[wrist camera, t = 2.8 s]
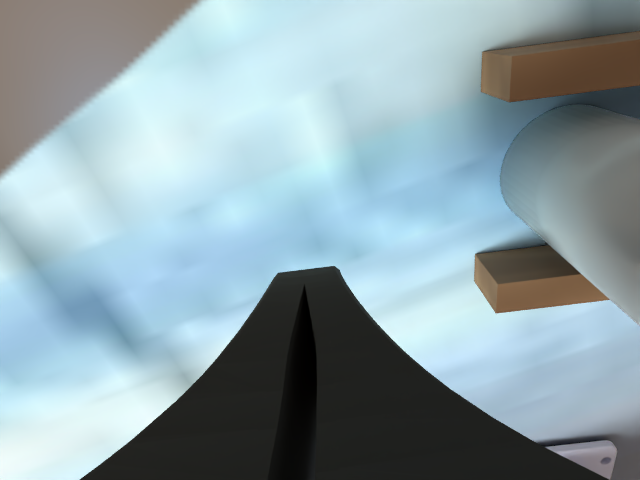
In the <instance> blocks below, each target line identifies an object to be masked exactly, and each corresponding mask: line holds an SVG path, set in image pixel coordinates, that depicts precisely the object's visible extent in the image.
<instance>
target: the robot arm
mask: <svg viewBox="0 0 640 480" xmlns="http://www.w3.org/2000/svg"><path fill="white" fill-rule="evenodd" d="M616 455H617V448H616V447H615V446H614V444H613V443H612V442H611V441H608V440H603V441H594V442H585V443H576V444H567V445H559V446H550V447H543V446H541V445H539V444H538V443H536V442H534V441H532V440H530V439H529V438H527V437H525V436H523V435H522V434H520V433H518V432H517V431H515V430H513V429H511V428H510V427H508V426H506V425H505V424H503V423H501V422H499V421H498V420H496V419H494V418H493V417H491V416H489V415H488V414H486V413H485V412H483V411H482V410H481V409H479V408H478V407H476V406H475V405H473V404H472V403H470V402H469V401H467V400H466V399H464V398H463V397H461V396H460V395H458V394H457V393H455V392H454V391H452V390H451V389H450V388H448V387H447V386H446V385H444V384H443V383H442V382H440V381H439V380H438V379H437V378H435V377H434V376H433V375H431V374H430V373H429V372H428V371H426V370H425V369H424V368H423V367H422V366H421V365H419V364H418V363H417V362H416V361H415V360H413V359H412V358H411V357H410V356H409V355H408V354H407V353H406V352H405V351H403V350H402V349H401V348H400V347H399V346H398V345H397V344H396V343H395V342H394V341H393V340H392V339H391V338H390V337H389V336H388V335H387V334H386V333H385V332H384V331H383V330H382V328H381V327H380V326H379V325H378V324H377V323H376V322H375V321H374V320H373V318H372V317H371V316H370V315H369V314H368V312H367V311H366V310H365V309H364V307H363V306H362V305H361V304H360V303H359V301H358V300H357V299H356V297H355V296H354V294H353V293H352V291H351V290H350V289H349V287H348V285H347V284H346V282H345V281H344V279H343V277H342V275H341V273H340V270H339V269H337V268H336V267H335V266H330V267H322V268H314V269H306V270H298V271H290V272H282V273H278V274H277V275H276V276H275V277H274V279H273V280H272V282H271V284H270V285H269V287H268V288H267V290H266V292H265V293H264V295H263V296H262V298H261V300H260V301H259V303H258V304H257V306H256V307H255V309H254V310H253V312H252V313H251V314H250V316H249V317H248V319H247V320H246V321H245V323H244V324H243V326H242V327H241V329H240V330H239V331H238V333H237V334H236V335H235V336H234V338H233V339H232V340H231V341H230V343H229V344H228V345H227V346H226V348H225V349H224V350H223V351H222V353H221V354H220V355H219V356H218V358H217V359H216V360H215V361H214V362H213V364H212V365H211V366H210V367H209V368H208V369H207V370H206V371H205V373H204V374H203V375H202V376H201V377H200V378H199V379H198V380H197V381H196V382H195V383H194V384H193V385H192V386H191V387H190V388H189V389H188V390H187V391H186V392H185V393H184V394H183V395H182V396H181V397H180V398H179V399H178V400H177V401H176V402H175V403H173V404H172V405H171V406H170V407H169V408H168V409H167V410H165V411H164V412H163V413H162V414H161V415H160V416H159V417H157V418H156V419H155V420H154V421H153V422H152V423H151V424H149V425H148V426H147V427H146V428H145V429H144V430H143V431H141V432H140V433H139V434H138V435H137V436H136V437H135V438H133V439H132V440H131V441H130V442H128V443H127V444H126V445H125V446H123V447H122V448H121V449H120V450H118V451H117V452H116V453H114V454H113V455H112V456H111V457H109V458H108V459H107V460H105V461H104V462H103V463H102V464H100V465H99V466H98V467H96V468H95V469H94V470H92V471H91V472H89V473H88V474H87V475H85V476H84V477H83V478H81V479H80V480H610V479H611V475H612V471H613V467H614V463H615V459H616Z"/></svg>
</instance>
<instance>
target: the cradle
mask: <svg viewBox="0 0 640 480" xmlns="http://www.w3.org/2000/svg"><path fill="white" fill-rule="evenodd" d="M638 85H640V31H636V32H628V33H621V34H613V35H606V36H598V37H591V38H583V39H575V40H568V41H560V42H553V43H545V44H538V45H530V46H523V47H515V48H508V49H500V50H492V51H485V52H482V74H481V92H483V93H486V94H488V95H491V96H494V97H496V98H499V99H502V100H504V101H507V102H515V101H523V100H531V99H538V98H546V97H554V96H561V95H569V94H577V93H584V92H592V91H600V90H607V89H615V88H623V87H631V86H638ZM474 281H475V283H476V284H477V286H478V287H479V289H480V290H481V292H482V293H483V295H484V296H485V298H486V299H487V301H488V302H489V304H490V305H491V307H492V308H493V310H494V311H495V313H503V312H512V311H520V310H528V309H537V308H545V307H553V306H562V305H570V304H578V303H587V302H595V301H603V300H610V299H609V298H608V297H607V296H605V295H604V294H603V293H602V292H601V291H600V290H599V289H598V288H597V287H595V286H594V285H593V284H592V283H591V282H590V281H589V280H588V279H586V278H585V277H584V276H583V275H582V274H581V273H580V272H579V271H578V270H576V269H575V268H574V267H573V266H572V265H571V264H570V263H569V262H568V261H566V260H565V259H564V258H563V257H562V256H561V255H560V254H559V253H557V252H556V251H555V250H554V249H553V248H552V247H551V246H550V245H546V246H538V247H530V248H522V249H513V250H505V251H497V252H489V253H481V254H475V272H474Z"/></svg>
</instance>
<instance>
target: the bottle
mask: <svg viewBox="0 0 640 480" xmlns="http://www.w3.org/2000/svg"><path fill="white" fill-rule="evenodd" d="M500 186H501V192H502V195H503V198H504V200H505V202H506V204H507V206H508V207H509V208H510V210H511V211H512V212H513V213H514V214H515V215H516V216H517V217H518V218H520V219H521V220H522V221H523V222H524V223H525V224H526V225H527V226H529V227H530V228H531V229H532V230H533V231H534V232H535V233H536V234H537V235H539V236H540V237H541V238H542V239H543V240H544V241H545V242H546V243H547V244H549V245H550V246H551V247H552V248H553V249H554V250H555V251H556V252H557V253H559V254H560V255H561V256H562V257H563V258H564V259H565V260H566V261H568V262H569V263H570V264H571V265H572V266H573V267H574V268H575V269H576V270H578V271H579V272H580V273H581V274H582V275H583V276H584V277H585V278H586V279H588V280H589V281H590V282H591V283H592V284H593V285H594V286H595V287H597V288H598V289H599V290H600V291H601V292H602V293H603V294H604V295H605V296H607V297H608V298H609V299H610V300H611V301H612V302H613V303H614V304H615V305H617V306H618V307H619V308H620V309H621V310H622V311H623V312H624V313H626V314H627V315H628V316H629V317H630V318H631V319H632V320H633V321H634V322H636V323H637V324H638V325H639V326H640V119H637V118H634V117H630V116H627V115H623V114H619V113H616V112H612V111H609V110H605V109H602V108H598V107H594V106H590V105H583V104H574V105H566V106H561V107H558V108H555V109H552V110H550V111H548V112H546V113H544V114H542V115H540V116H539V117H537V118H536V119H534V120H533V121H532V122H530V123H529V124H528V125H527V126H526V127H525V128H524V129H522V130H521V132H520V133H519V134H518V135H517V136H516V137H515V139H514V140H513V142H512V143H511V145H510V147H509V148H508V150H507V152H506V155H505V157H504V160H503V163H502V167H501V173H500Z"/></svg>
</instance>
